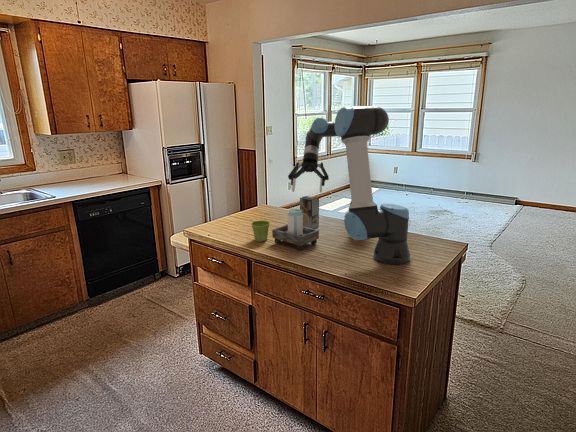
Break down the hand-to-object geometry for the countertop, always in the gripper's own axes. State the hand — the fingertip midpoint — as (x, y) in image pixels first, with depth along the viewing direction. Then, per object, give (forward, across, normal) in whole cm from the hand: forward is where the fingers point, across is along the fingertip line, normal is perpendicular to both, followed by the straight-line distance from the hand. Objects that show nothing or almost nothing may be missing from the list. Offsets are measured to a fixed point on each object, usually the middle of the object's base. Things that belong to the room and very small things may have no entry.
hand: (306, 190), depth 184 cm
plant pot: (+23, +22, -11) cm, 33 cm away
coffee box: (+5, +1, -28) cm, 29 cm away
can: (+22, +4, -6) cm, 23 cm away
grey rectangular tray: (+25, +4, -9) cm, 27 cm away
